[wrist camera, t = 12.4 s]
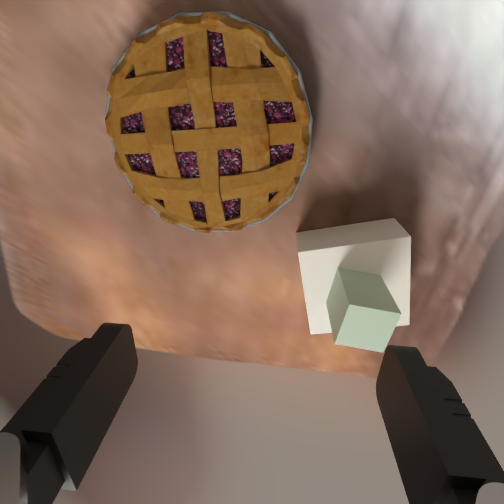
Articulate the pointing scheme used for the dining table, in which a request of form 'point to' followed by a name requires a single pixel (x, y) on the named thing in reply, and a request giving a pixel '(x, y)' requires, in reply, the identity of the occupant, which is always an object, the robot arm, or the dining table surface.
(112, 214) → the dining table surface
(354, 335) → the sage block
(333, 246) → the base box
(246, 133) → the pie
